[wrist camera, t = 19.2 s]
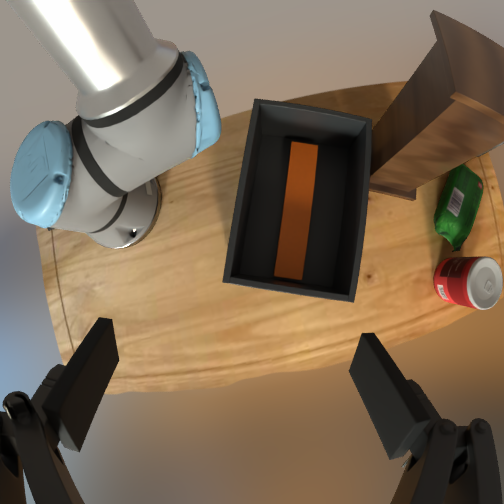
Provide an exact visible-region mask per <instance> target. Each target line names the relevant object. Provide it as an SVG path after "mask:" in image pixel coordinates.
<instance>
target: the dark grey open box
mask: <svg viewBox="0 0 504 504" xmlns="http://www.w3.org/2000/svg"><path fill="white" fill-rule="evenodd" d="M292 142H299V143H306V144H312V145H318V152H317V163H316V173H315V183H314V192H313V201H312V210H311V218H310V226H309V234H308V242H307V249H306V256H305V263H304V270H303V277H302V280H297V279H290V278H283V277H276V276H274V269H275V262H276V255H277V248H278V241H279V234H280V227H281V220H282V212H283V205H284V197H285V189H286V182H287V174H288V166H289V158H290V149H291V143H292ZM371 142H372V119H369V118H365V117H361V116H357V115H352V114H348V113H343V112H338V111H333V110H328V109H323V108H318V107H312V106H306V105H300V104H293V103H287V102H279V101H270V100H263V99H262V100H261V99H254V104H253V109H252V114H251V119H250V125H249V130H248V135H247V141H246V146H245V151H244V157H243V162H242V168H241V174H240V179H239V185H238V191H237V196H236V202H235V208H234V214H233V220H232V226H231V232H230V238H229V244H228V250H227V257H226V263H225V269H224V276H223V283H230V284H235V285H241V286H247V287H253V288H259V289H265V290H271V291H278V292H284V293H291V294H297V295H304V296H310V297H317V298H324V299H331V300H339V301H346V302H347V301H348V302H353V303H354V300H355V294H356V289H357V283H358V276H359V270H360V263H361V257H362V249H363V242H364V234H365V225H366V216H367V205H368V194H369V181H370V165H371Z"/></svg>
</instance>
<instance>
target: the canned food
mask: <svg viewBox="0 0 504 504" xmlns="http://www.w3.org/2000/svg"><path fill="white" fill-rule="evenodd" d="M502 286H503V277H502V272H501V269H500V267H499V265H498V263H497V262H496V261H495V260H494V259H492V258H490V257H456V258H448V259H445V260H444V261H442V262H441V263H440V264H439V265H438V267H437V268H436V271H435V274H434V287H435V290H436V292H437V294H438V295H439V296H440V297H441V298H442V299H443V300H444V301H446V302H450V303H454V304H458V305H463V306H467V307H471V308H475V309H481V310H485V309H490V308H491V307H493V306H494V305H495V304H496V302H497V301H498V299H499V297H500V295H501V292H502Z"/></svg>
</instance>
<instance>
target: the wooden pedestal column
mask: <svg viewBox="0 0 504 504" xmlns="http://www.w3.org/2000/svg"><path fill="white" fill-rule="evenodd" d="M430 18H431V21H432V25H433V28H434V31H435V35H436V38H437V42H436V43H435V44H434V46H433V47H432V49H431V50H430V52H429V53H428V54H427V56H426V57H425V59H424V60H423V61H422V63H421V64H420V65H419V67H418V68H417V70H416V71H415V72H414V74H413V75H412V77H411V78H410V79H409V81H408V82H407V83H406V85H405V86H404V88H403V89H402V90H401V92H400V93H399V94H398V96H397V97H396V98H395V100H394V101H393V103H392V104H391V105H390V107H389V108H388V109H387V111H386V112H385V113H384V115H383V116H382V117H381V119H380V120H379V121H378V123H377V124H376V125H375V127H374V128H373V129H372V142H371V165H370V181H369V191H373V192H377V193H382V194H386V195H390V196H395V197H399V198H403V199H407V200H411V201H414V200H416V188H417V187H419V186H421V185H423V184H425V183H427V182H429V181H431V180H432V179H434V178H436V177H438V176H440V175H442V174H444V173H446V172H448V171H450V170H452V169H453V168H455V167H457V166H459V165H461V164H463V163H465V162H467V161H469V160H470V159H472V158H474V157H476V156H478V155H480V154H482V153H483V152H485V151H487V150H489V149H491V148H493V147H495V146H496V145H498V144H500V143H502V142H504V48H503V47H502V46H500V45H498V44H497V43H495V42H494V41H492V40H491V39H489V38H487V37H486V36H484V35H482V34H480V33H479V32H477V31H475V30H473V29H472V28H470V27H468V26H466V25H464V24H462V23H460V22H458V21H456V20H454V19H452V18H450V17H448V16H446V15H444V14H442V13H439V12H437V11H434V10H433V11H432V13H431V15H430Z"/></svg>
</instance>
